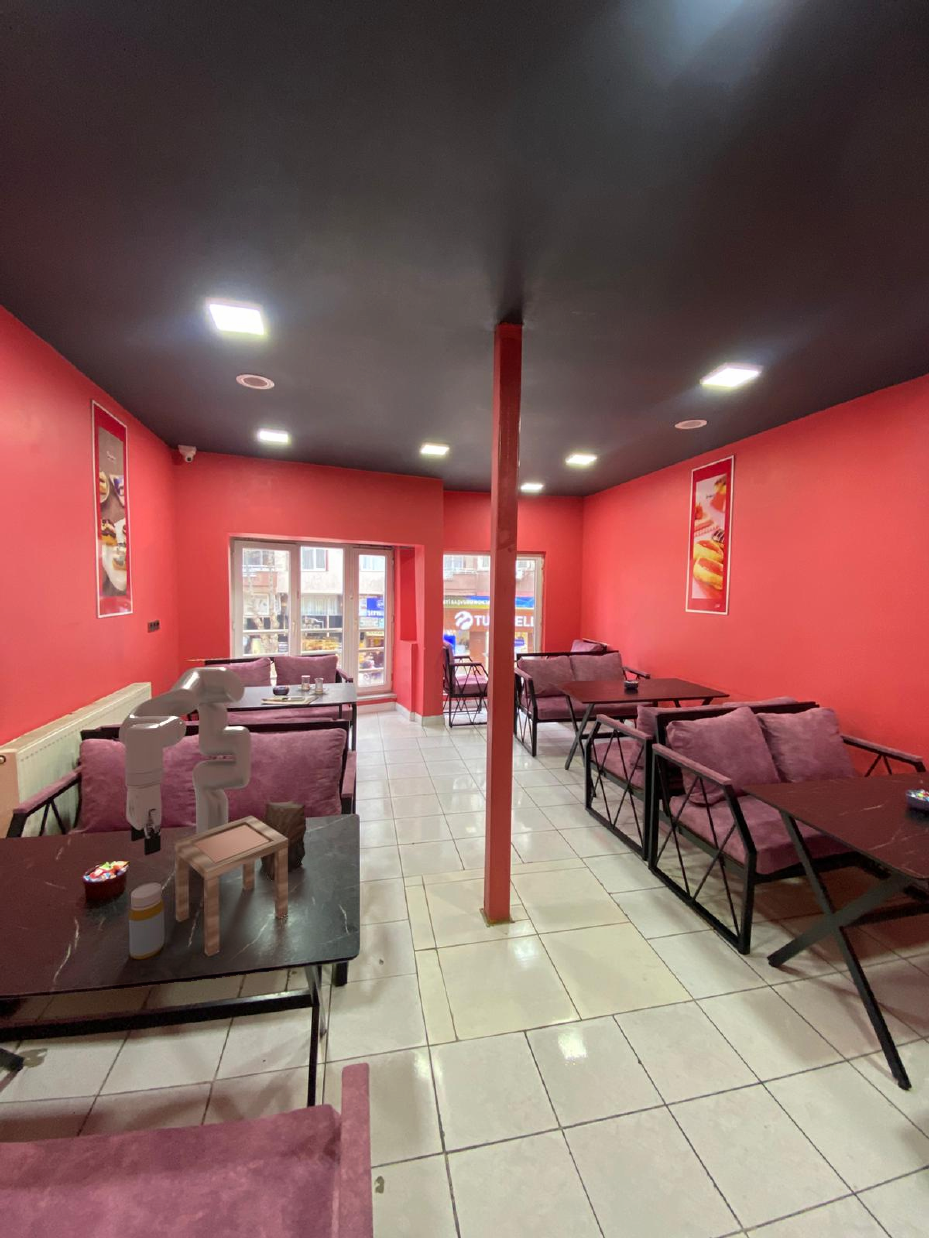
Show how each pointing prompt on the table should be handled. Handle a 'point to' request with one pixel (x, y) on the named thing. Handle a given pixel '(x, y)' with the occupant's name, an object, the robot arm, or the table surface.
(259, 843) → the trapdoor
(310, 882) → the table surface
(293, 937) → the table surface
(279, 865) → the trapdoor frame
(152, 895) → the bottle
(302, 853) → the tree stump
